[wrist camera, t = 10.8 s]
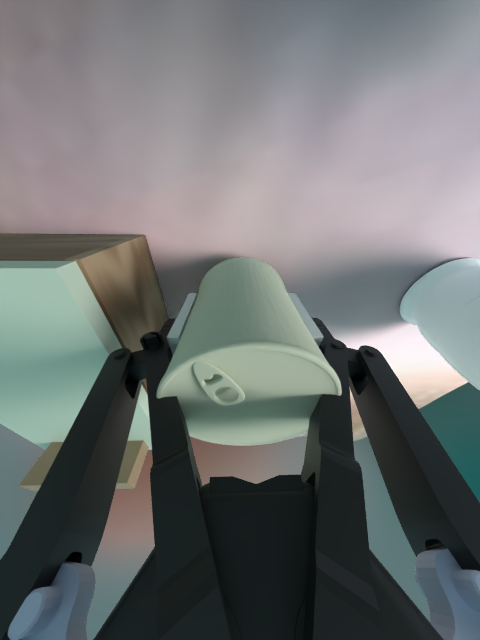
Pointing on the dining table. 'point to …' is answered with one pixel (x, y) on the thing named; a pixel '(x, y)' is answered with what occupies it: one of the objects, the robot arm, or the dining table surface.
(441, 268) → the jar
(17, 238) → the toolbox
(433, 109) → the dining table surface
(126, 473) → the lid
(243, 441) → the can
